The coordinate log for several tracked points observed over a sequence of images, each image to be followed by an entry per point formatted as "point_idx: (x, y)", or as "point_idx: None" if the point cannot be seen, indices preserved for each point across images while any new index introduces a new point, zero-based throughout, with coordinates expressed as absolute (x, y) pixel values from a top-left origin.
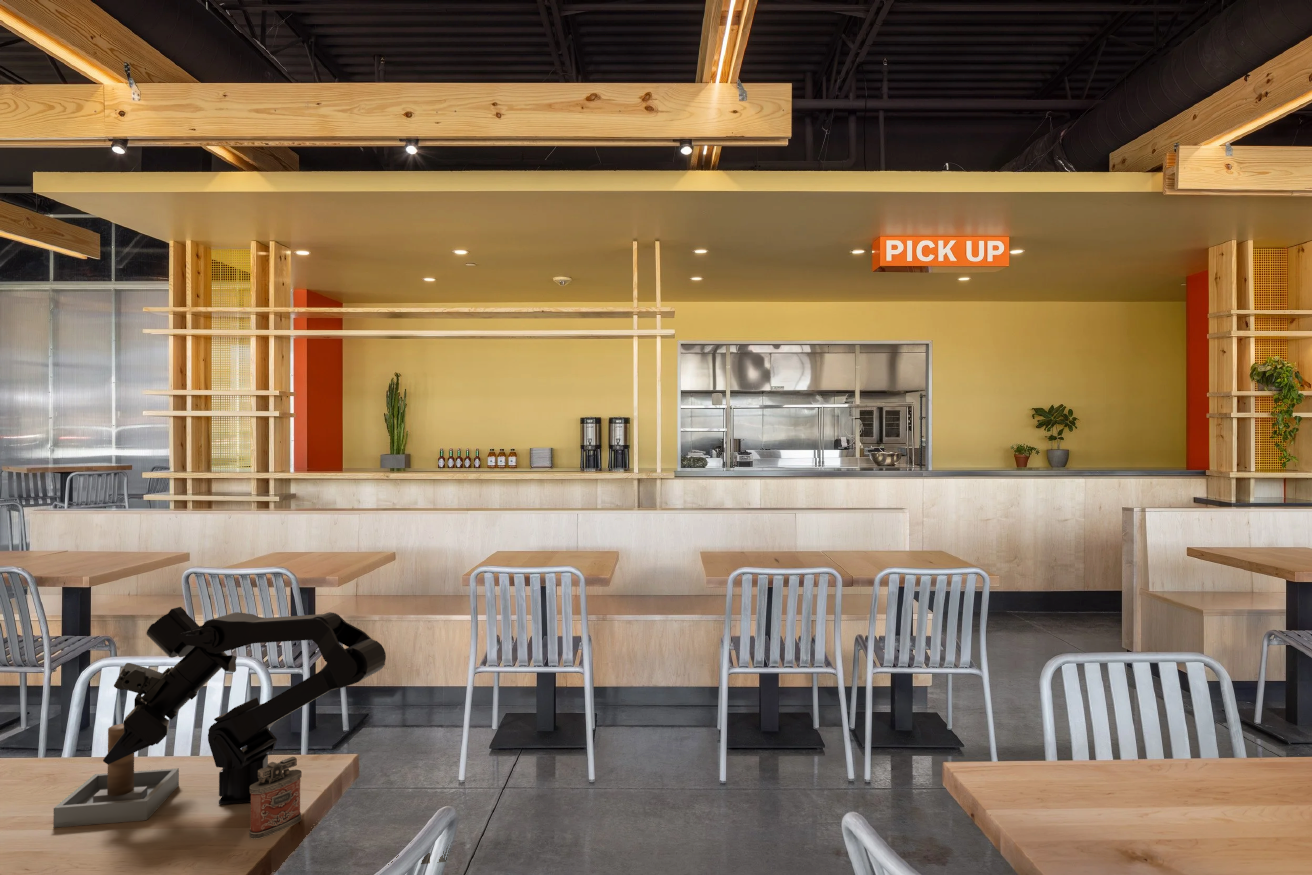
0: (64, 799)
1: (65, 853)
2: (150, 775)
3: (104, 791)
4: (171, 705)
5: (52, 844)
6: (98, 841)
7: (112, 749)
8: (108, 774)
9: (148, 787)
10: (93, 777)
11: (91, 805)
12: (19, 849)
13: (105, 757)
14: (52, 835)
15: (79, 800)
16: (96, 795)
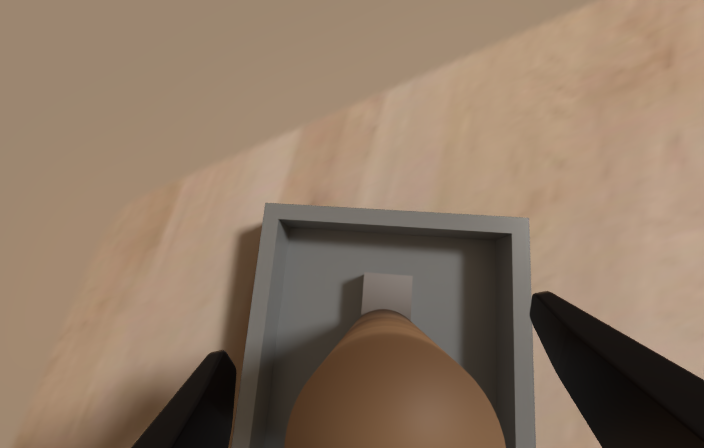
0: (322, 207)
1: (122, 302)
2: (510, 413)
3: (394, 294)
4: None
5: (184, 252)
6: (159, 360)
7: (149, 432)
8: (355, 323)
9: None
10: (496, 225)
11: (252, 306)
12: (185, 190)
13: (198, 369)
14: (236, 232)
15: (383, 231)
16: (366, 280)
